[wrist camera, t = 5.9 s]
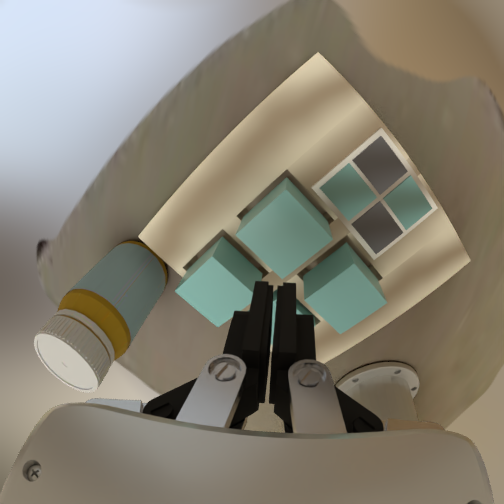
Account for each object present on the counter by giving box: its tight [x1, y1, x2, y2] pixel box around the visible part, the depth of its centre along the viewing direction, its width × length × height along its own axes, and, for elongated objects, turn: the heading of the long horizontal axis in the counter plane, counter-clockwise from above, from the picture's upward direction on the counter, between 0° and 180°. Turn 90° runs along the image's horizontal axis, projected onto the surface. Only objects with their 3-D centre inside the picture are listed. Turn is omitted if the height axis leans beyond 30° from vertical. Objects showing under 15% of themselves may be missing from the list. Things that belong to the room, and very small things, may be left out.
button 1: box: [303, 242, 387, 334], centre depth 23 cm, size 5×5×4 cm
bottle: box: [34, 241, 167, 392], centre depth 25 cm, size 7×7×15 cm
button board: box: [138, 52, 471, 364], centre depth 26 cm, size 22×21×4 cm
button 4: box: [175, 236, 262, 327], centre depth 24 cm, size 5×5×4 cm
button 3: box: [235, 177, 333, 279], centre depth 22 cm, size 5×5×4 cm
